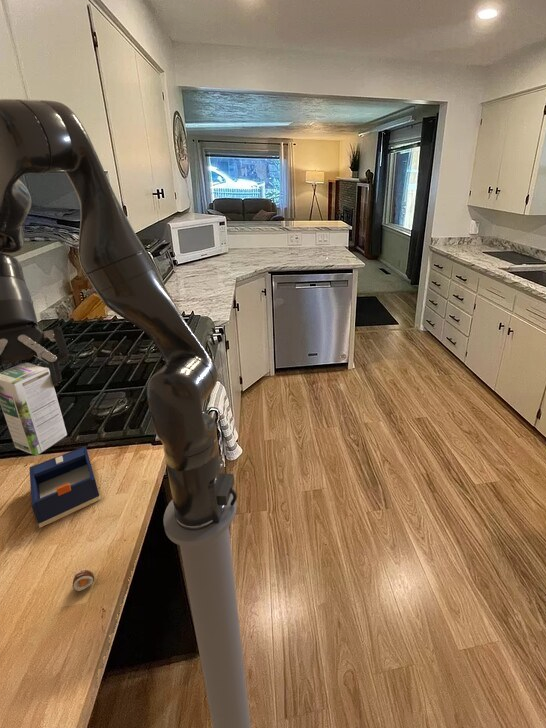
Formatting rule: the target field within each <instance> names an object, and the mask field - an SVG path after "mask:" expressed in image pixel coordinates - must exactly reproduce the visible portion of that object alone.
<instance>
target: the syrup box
mask: <svg viewBox="0 0 546 728" xmlns="http://www.w3.org/2000/svg"><path fill="white" fill-rule="evenodd" d="M57 396H58V395H57V392H56V389H55V386H53V382H52V379H51V375H50V371H49V367H44V366H41V365H38V364H34V363H31V362H23V363H21V364H17V365H15V366H12V367H10V368H8V369H5V370H2V371H1V372H0V406H1V410H2V414H3V416H4V419H5V422H6V425H7V428H8V431H9V434H10V436H11V440H12V443H13V445H14V448H15V449H18V450H20V451H23V452H25V453H28V454H31V455H33V456H36V457H37V456H39V455H40V454H42V453H44V452H45V451H47V449H49V448H51V447H52V446H53V445H55V444H57V443H58V442H60V441H61V440H63V439H64V438H65V437H67V436H68V433H67V429H66V426H65V421H64V418H63V414H62V411H61V407H60V404H59V400H58V397H57Z"/></svg>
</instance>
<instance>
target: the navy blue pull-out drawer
mask: <svg viewBox="0 0 546 728" xmlns="http://www.w3.org/2000/svg"><path fill="white" fill-rule="evenodd" d="M28 468H29V469H28V470H29V482H30V498H31V499H30V500H31V501H30V502H31V508H32V511H33V513H34V516H35V520H36V522H37V525H38V528H39V529H40V528H43V527H44V526H46V525H49V524H51V523H54V522H56V521H57V520H60V519H62V518H64V517H66V516H68V515H70V514H72V513H75V512H77V511H79V510H82V509H83V508H85V507H88V506H90V505H92V504H94V503H96V502H98V501H100V500H101V496H100V492H99V489H98V485H97V482H96V478H95V474H94V470H93V468H92V463H91V459H90V457H89V451H88V449H87V446H86V445H84V446H81V447H79V448H76V449H73V450H71V451H68V452H66V453H63V454H60V455H58V456H56V457H53V458H50V459H47V460H44V461H42V462H40V463H37V464H35V465H31V466H29V467H28Z"/></svg>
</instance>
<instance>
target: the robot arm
mask: <svg viewBox="0 0 546 728" xmlns="http://www.w3.org/2000/svg"><path fill="white" fill-rule="evenodd" d="M62 171H63V172H64V173H65V174H66V176H67V177H68V179H69V181H70V183H71V185H72V187H73V189H74V191H75V194H76V197H77V198H78V204H79V211H80V224H79V231H78V232H79V233H78V245H77V248H78V249H77V250H78V251H77V253H78V260H79V261H78V262H79V265H80V267H81V270H82V271H83V273H84V274H85V275H86V278H87V279H88V281H89V283H90V284H91V286H92V288H93V289H94V290H95V293H96V294H97V297H99V299H100V300H101V301H102V303H103V304H104V305H105V306H106V307H108V308H109V309H110V310H111V311H113V312H114V313H115V314H117V315H118V316H120V317H121V318H122V319H124V320H126V321H127V322H129V323H131V324H132V325H134V326H136V327H137V328H139V329H140V330H141V331H143V332H144V333H145V334H146V335H147V336H148V337H149V338H150V339H151V341H152V342H153V343H154V345H155V346H156V348H157V349H158V351H159V353H160V355H161V357H162V358H163V360H164V363H165V364H164V365H163V366H162V367H161V368H159V370H157V371H156V372H155V373H154V374H153V375H152V376H151V377H150V379H149V380H148V382H147V385H146V401H147V407H148V409H149V413H150V418H151V421H152V425H153V429H154V432H155V435H156V437H157V438H158V440H160V442H161V444H162V446H163V447H162V448H163V452H164V459H165V464H166V470H167V475H168V482H169V487H170V492H171V493H170V494H171V498H172V499H173V504H174V511H175V518H176V522H177V523H178V525H179V526H180V527H182V528H184V529H186V530H200V529H203V528H206V527H208V526H210V525H211V524H214V523H219V522H220V519H221V516H222V513H223V511H224V508H225V506H227V504H228V501H229V498H230V494H232V495H233V499H232V501H231V503H230V504H231V505H232V506H233V505H234V503H235V501H236V502H237V500H238V494H237V492H236V491H235V489H234V485H235V475H234V473H226V469H225V462H224V460H221V459H220V451H219V442H218V441H219V440H218V430H217V425H216V421H215V419H214V418H213V417H212V416H211V415H210V414H209V413H205V412H204V411H203V404H204V403H205V401H206V400H207V399H208V397H209V396H210V395H211V393H212V392H213V390H214V389H215V387H216V385H217V382H218V370H217V368H216V365H215V363H214V361H213V359H212V358H211V356H210V354H209V353H208V351H207V350H206V349H205V347H204V346H203V345H202V343H201V342H200V340H199V339H198V338H197V337H196V334H195V333H194V332H193V330H192V329H191V327H190V326H189V325H188V323H187V321H186V320H185V319H184V316H183V315H182V313H181V312H180V309H179V308H178V306H177V305H176V303H175V301H174V299H173V298H172V296H171V294H170V293H169V291H168V289H167V288H166V286H165V284H164V282H163V280H162V278H161V276H160V274H159V272H158V270H157V268H156V266H155V264H154V262H153V261H152V259H151V258H150V255H149V253H148V251H146V250H147V249H145V246H144V245H143V243H142V241H141V240H140V239H139V237H138V235H137V233H136V231H135V230H134V228H133V227H132V224H131V222H130V220H129V219H128V217H127V215H126V212H125V211H124V210H123V207H122V205H121V204H120V202H119V200H118V197H117V195H116V193H115V192H114V189H113V187H112V186H111V183H110V180H109V179H108V176H107V174H106V171H105V170H104V167H103V165H102V162H101V161H100V158H99V156H98V153H97V151H96V149H95V147H94V145H93V143H92V141H91V138H90V136H89V134H88V133H87V130H86V129H85V127H84V125H83V124H82V122H81V120H80V118H79V117H78V116H77V115H76V113H75V112H74V111H73V110H72V109H71V108H70V107H69V106H67V105H66V104H64V103H62V102H60V101H56V100H47V99H46V100H45V99H16V98H0V370H1V369H2V368H3V366H4V364H8V365H9V364H13V363H16V362H18V361H23V360H24V361H26V360H31V358H33V357H35V358H37V359H38V360H40V361H43V362H44V363H46V364H47V366H48V367H47V368H48V369H49V371H50V375H51V379H52V382H53V386H54V387H57V386H59V383H60V382H62V380H63V377H62V373H61V370H60V366H59V365H60V363H62V362H63V361H67V360H69V359H70V354H69V350H68V346H67V344H66V340H65V337H64V334H63V329H62V327H61V326H59V325H58V326H54V327H53V329H49V330H48V329H47V330H44V331H43V330H42V329H41V328H40V326H39V321H38V318H37V315H36V311H35V307H34V301H33V299H32V296H31V293H30V290H29V288H28V286H27V283H26V279H25V276H24V272H23V268H22V265H21V262H20V261H19V260H18V259H17V258H16V257H14V256H13V255H10V254H14V253H17V252H19V251H20V250H22V249H23V247H24V246H25V241H26V240H25V239H26V238H25V231H24V228H23V226H24V225H23V224H24V222H25V220H26V219H27V217H28V215H29V213H30V211H31V209H32V208H31V207H32V196H31V194H30V191H29V189H28V187H27V186H26V185H25V183H23V182H22V181H21V180H20V178H22V176H24V175H27V174H31V175H32V174H33V175H35V174H46V173H53V172H54V173H56V172H62ZM45 339H49V341H50V342H52V343H54V342H56V345H57V346H56V347H57V348H58V352H57V353H55V354H53V353H52V352H50V351H49V350H47V348H45V347H44V346H42V344H43V342H44V341H45ZM172 499H171V500H172Z"/></svg>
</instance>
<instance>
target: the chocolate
mask: <svg viewBox="0 0 546 728" xmlns="http://www.w3.org/2000/svg"><path fill="white" fill-rule="evenodd" d="M72 575H74V577H73V580H72V585H71V586H72V588H73V589H74V590H75V591H76V592H80V591H84V590H85V589H87V588H89V587H90V586H91V585H92V584H93V583H94V582H95V577H96V576H95V575H94V573H93V572H92V571H91V570H88V569H87V568H83V569H80V570H77V571H73V572H72Z"/></svg>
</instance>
